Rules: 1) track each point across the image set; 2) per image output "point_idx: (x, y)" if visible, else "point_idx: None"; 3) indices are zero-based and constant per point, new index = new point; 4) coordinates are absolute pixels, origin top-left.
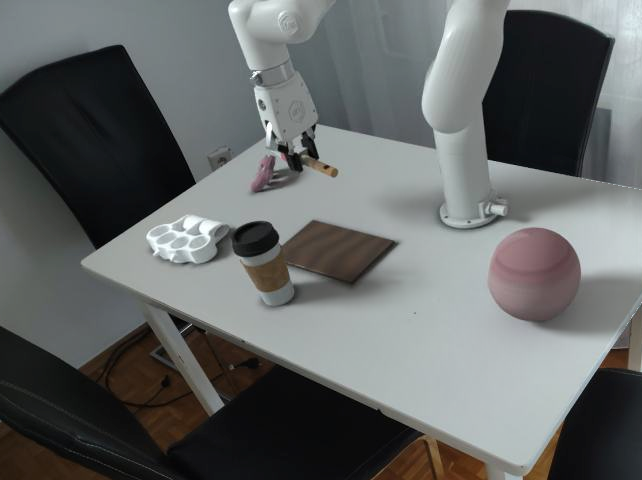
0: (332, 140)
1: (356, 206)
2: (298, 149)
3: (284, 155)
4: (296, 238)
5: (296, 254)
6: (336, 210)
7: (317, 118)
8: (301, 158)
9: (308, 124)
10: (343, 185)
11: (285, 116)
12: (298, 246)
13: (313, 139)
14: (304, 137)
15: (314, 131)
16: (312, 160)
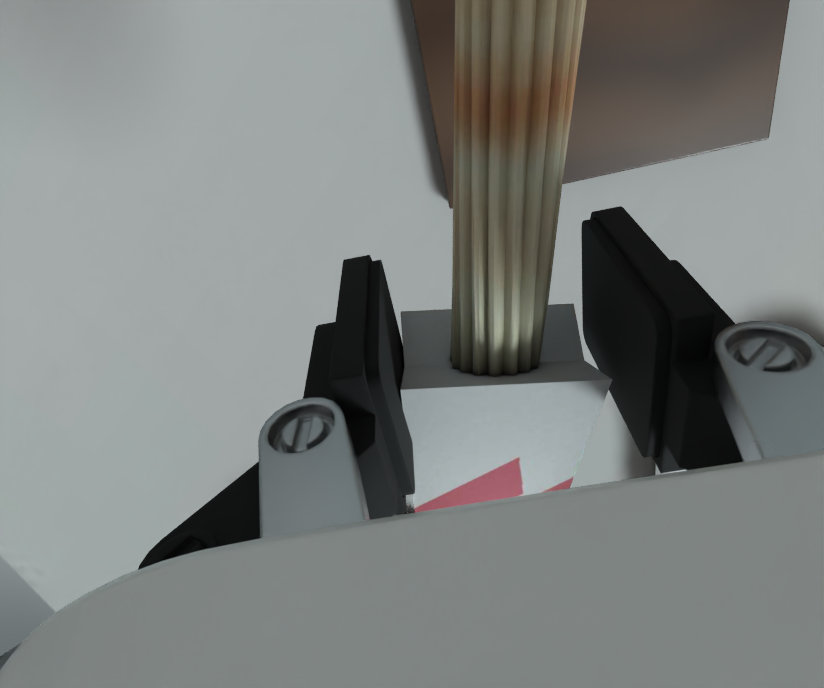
0: (75, 564)
1: (230, 129)
2: (459, 446)
3: (565, 478)
4: (601, 146)
5: (715, 16)
6: (319, 192)
7: (35, 632)
8: (534, 321)
9: (369, 589)
10: (186, 325)
11: None
12: (652, 74)
13: (317, 399)
14: (386, 493)
15: (227, 491)
16: (526, 156)
